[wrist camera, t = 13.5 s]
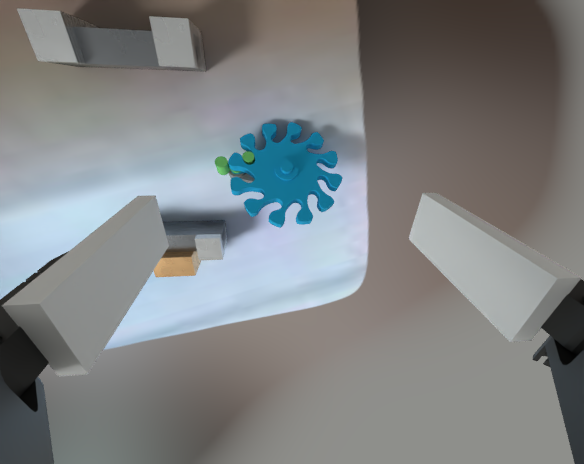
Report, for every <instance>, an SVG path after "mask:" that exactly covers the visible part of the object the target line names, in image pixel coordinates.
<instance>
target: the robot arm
mask: <svg viewBox="0 0 584 464" xmlns="http://www.w3.org/2000/svg"><path fill="white" fill-rule="evenodd" d="M409 240H410V241H411V242H412V243H413V244H415V246H416V247H417V248H418V249H419V250H420V251H421V252H422V253H423V254H424V255H425V256H426V257H427V258H428V259H429V260H430V261H431V262H432V263H433V264H434V265H435V266H436V267H437V268H438V269H439V270H440V271H441V272H442V273H443V274H444V275H445V276H446V277H447V278H448V279H449V280H450V281H451V282H452V283H453V284H454V285H455V287H457V289H459V291H460V292H462V294H463V295H464V296H465V297H466V298H467V299H468V300H469V301H470V302H471V303H472V304H473V305H474V306H475V307H476V308H477V309H478V310H479V311H480V312H481V313H482V314H483V315H484V316H485V317H486V318H487V319H488V320H489V321H490V322H491V323H492V324H493V325H494V326H495V327H496V328H497V329H498V330H499V331H500V332H501V333H502V334H503V335H504V336H505V337H506V338H507V339H508V340H509V341H510V342H520V341H531V340H532V339H533V338H534V336H535V335H536V334H537V333H538V331H539V330H540V329H541V328H542V329H544V330H545V331H546V332H547V333H548V334H550V336H549V337H548V339H547V340H546V341H545V342H544V343H543V344H542V346H541V347H540V348H539V349H538V350H537V352H536V353H535V354H534V355H533V360H535V361H538V360H539V359H540V357H541V356H547V357H548V359H547V360H546V361H545V362H544V363H543V364H544V365H546V366H549V367H551V371H552V375H553V379H554V383H555V387H556V391H557V395H558V398H559V403H560V407H561V411H562V415H563V419H564V423H565V427H566V431H567V434H568V439H569V442H570V446H571V450H572V454H573V458H574V462H575V464H584V281H583V280H581V278H582V277H580V276H579V275H577V274H575V273H573V272H572V271H570V270H568V269H567V268H565V267H563V266H561V265H560V264H558V263H556V262H555V261H553V260H551V259H549V258H548V257H546V256H544V255H542V254H541V253H539V252H537V251H536V250H534V249H532V248H530V247H529V246H527V245H525V244H524V243H522V242H520V241H518V240H517V239H515V238H513V237H512V236H510V235H508V234H506V233H505V232H503V231H501V230H499V229H498V228H496V227H494V226H493V225H491V224H489V223H487V222H486V221H484V220H482V219H481V218H479V217H477V216H475V215H473V214H472V213H470V212H469V211H467V210H465V209H463V208H462V207H460V206H458V205H456V204H455V203H453V202H451V201H450V200H448V199H446V198H445V197H443V196H441V195H439V194H438V193H423V194H422V197H421V201H420V204H419V207H418V210H417V213H416V217H415V220H414V223H413V226H412V229H411V233H410V236H409ZM168 247H169V244H168V240H167V236H166V233H165V229H164V225H163V222H162V218H161V214H160V211H159V207H158V203H157V200H156V196H137V197H136V198H135V199H134V200H132V201H131V202H130V203H129V204H127V205H126V206H125V207H124V208H122V209H121V210H120V211H119V212H117V213H116V214H115V215H114V216H112V217H111V218H110V219H109V220H108V221H106V222H105V223H104V224H103V225H101V226H100V227H99V228H98V229H96V230H95V231H94V232H93V233H91V234H90V235H89V236H88V237H86V238H85V239H84V240H83V241H81V242H80V243H79V244H78V245H76V246H75V247H74V248H73V249H72V250H70V251H68V252H66V253H64V254H62V255H60V256H59V257H57V258H55V259H53V260H51V261H49V262H48V263H47V264H46V265H44V266H43V267H42V268H40V269H39V270H38V272H37V273H34V274H33V275H31V276H30V277H29V278H28V279H26V282H23V283H21V284H20V285H19V286H17V287H16V288H15V289H14V290H12V291H11V292H10V293H8V294H7V295H6V296H5V297H3V298H2V299H1V300H0V464H54V460H53V453H52V445H51V437H50V430H49V422H48V415H47V408H46V400H45V393H44V385H43V383H42V382H41V380H40V379H39V378H38V376H39V374H40V373H41V372H42V371H43V369H44V368H45V367H46V366H47V364H49V365H50V367H51V368H52V369H53V370H54V372H55V373H56V374H57V375H58V376H70V375H82V374H88V373H89V371H90V370H91V368H92V367H93V365H94V363H95V362H96V360H97V359H98V357H99V356H100V354H101V352H102V351H103V349H104V348H105V346H106V345H107V343H108V341H109V340H110V338H111V337H112V335H113V334H114V332H115V330H116V329H117V327H118V326H119V324H120V322H121V321H122V319H123V318H124V316H125V315H126V313H127V311H128V310H129V308H130V307H131V305H132V303H133V302H134V300H135V299H136V297H137V296H138V294H139V292H140V291H141V289H142V288H143V286H144V285H145V283H146V281H147V280H148V278H149V277H150V275H151V273H152V272H153V270H154V269H155V267H156V266H157V264H158V262H159V261H160V259H161V258H162V256H163V254H164V253H165V251H166V250H167V248H168Z"/></svg>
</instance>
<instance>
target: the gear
mask: <svg viewBox="0 0 584 464" xmlns="http://www.w3.org/2000/svg"><path fill="white" fill-rule="evenodd" d="M276 129H277V127H276V125H275V124H263V125H262V135H263V137H264V138H265V140H266V146H265V148H264V149H263V150H257V149H255V137H254V135H253V134H251V133H250V134H247V135H244V136H243V137H241V138H240V142H241V147H242V148H243V149H244V150H246V151H247V152H245V153H243V155H242V156H241V155H240V154H239V153H233V154H232V156H231V157H230V159H229V161H227V159H226V158H225V157H218V158H216V160H215V164H216V167H217V170H218V172H219V174H221V175H226V174H228V173H229V175H230V177H231V190H232V194H233V195H240V194H242V193H245V192H249V191H254V192H260V193H262V194H263V195H264V198H262V199H260V200H257V199H247V200H246V201H245V202H244V205H245V209H246V211H247V212H248V214H249V215H250V216H251V217H254V216H256V215H257V214H258V213H259V211H260V210H261V209H262V208H263V207H264V206H266V205H268V204H270V203H274V202H278V203H280V204H281V206H282V208H281V209H279V210H276V211H273V212H272V213H271V214H270V215H269V222H270V223H271V224H272V225H274V226H277V227H282V226H283V224H284V221H285V212H286V210H287V209H288V207H289V206H290V205H291V204H292V203H299V204H300V205H301V208H302V209H301V210H300V211H299V212H298V214H297V217H296V222H297V224H310V223H311V221H312V219H313V215H312V213H311V211H310V210H309V208H308V204H307V198H308V195H310V194H314V195H315V196H316V197H317V198H318V202H317V208H318V209H319V211H321V212H324V211H326V210H328V209H329V208H330V207H331V206H332V205H333V204H334V200H333V199H332V197H330V196H328V195H327V194H325V193H324V192H323V191H322V190H321V188H320V186H319V184H318V182H317V180H324V181H325V183H326V185H327V187H328V188H329V189H330V190H331V191H336V190H337V188H338V187H339V185H340V183H341V181H342V176H341V175H339V174H331V173H327V172H325V171H323V170H322V169H321V168H319V167H318V166H317V163H322V164H324V165H325V166H326V167H328V168H334V167H335V166H336V164H337V161H338V158H337V154H336V152H335V151H329V152H327V153H324V154H314V153H310V152H308V151H307V149H315V150H318V149H320V148H321V147H322V145H323V142H324V140H323V138H322V137H321V135H320V134H319V133H318V132H314V133H312V134H311V136H310V138H309V139H308V140H306V141H304V142H302V143H298V144H294V143H292V142H291V140H294V139H297V138H299V137H300V134H301V129H302V127H301V126H299V125H298V124H295V123H293V122H290V123H289V124H288V128H287V135H286V136H285V138H284V139H283V140H282V141H281V142H279V143H275V142H273V141H272V140H273V139H274V138H275V136H276ZM246 182H249V183H246Z"/></svg>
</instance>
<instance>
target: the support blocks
mask: <svg viewBox="0 0 584 464" xmlns="http://www.w3.org/2000/svg"><path fill="white" fill-rule="evenodd" d="M17 11H18V13H19V16H20V18H21V21H22V23H23V25H24V28H25V30H26V33H27V35H28V38H29V40H30V43H31V45H32V47H33V50H34V52H35V55H36V57H37V60H38V61H42V62H49V63H56V64H63V65H70V66H78V67H104V68H130V69H156V70H182V71H206V65H205V57H204V49H203V41H202V33H201V31H200V30H199V29H198V28H197V27H196V26H195V25H194V24H193V23H192V22H191V21H190V20H189V19H187V18H170V17H153V16H149V19H150V24H151V28H152V31H144V30H125V29H107V28H97V26H96V25H93V24H91V23H88V22H86V21H83V20H81V19H78V18H76V17H74V16H71V15H69V14H66V13H64V12H61V11H52V10H35V9H18V8H17ZM163 225H164V229H165V233H166V236H167V240H168V244H169V247H168V248H167V250H166V251H165V253H164V254H163V256H162V258H161V259H160V261H159V262H158V264H157V266H156V267H155V269H154V273H155V276H156V277H171V276H194V275H196V273H197V270H198V267H199V265H200V262H201V260H221V259H223V256H224V252H225V248H226V244H227V232H226V224H225V221H185V222H163Z"/></svg>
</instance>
